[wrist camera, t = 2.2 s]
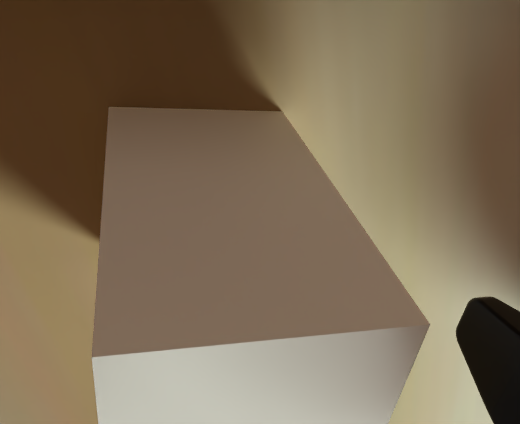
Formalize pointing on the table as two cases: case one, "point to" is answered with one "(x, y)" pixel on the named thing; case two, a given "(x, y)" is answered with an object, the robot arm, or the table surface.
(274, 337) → the white rectangular block
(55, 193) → the table surface
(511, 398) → the robot arm
